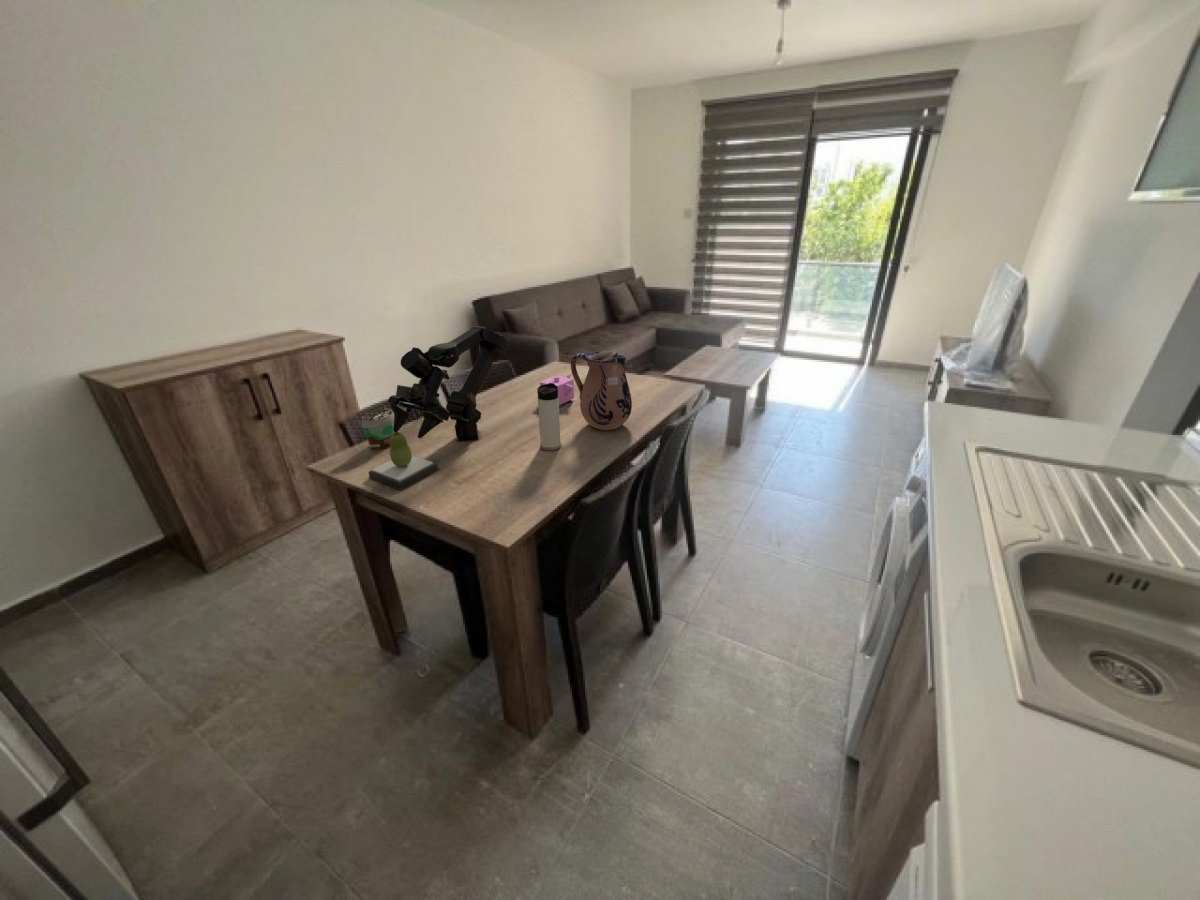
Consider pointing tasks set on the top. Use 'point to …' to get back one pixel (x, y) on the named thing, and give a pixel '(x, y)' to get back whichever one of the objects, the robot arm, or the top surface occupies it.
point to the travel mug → (549, 416)
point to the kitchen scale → (402, 472)
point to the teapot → (562, 387)
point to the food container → (379, 429)
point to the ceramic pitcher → (603, 389)
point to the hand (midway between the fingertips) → (406, 435)
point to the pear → (399, 450)
